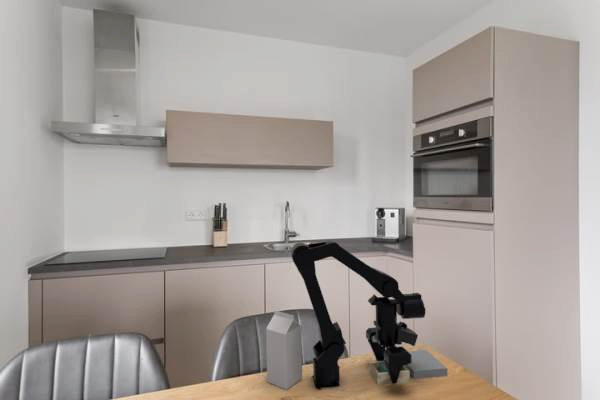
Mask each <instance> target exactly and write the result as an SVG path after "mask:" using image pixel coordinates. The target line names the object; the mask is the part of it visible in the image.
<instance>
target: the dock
mask: <svg viewBox="0 0 600 400" xmlns="http://www.w3.org/2000/svg"><path fill="white" fill-rule="evenodd" d="M407 351H408V352H409V353H410V354H411V355H412V363H411V364H407V365H404V366H405V367H406V368H407V369H408V370H409V371H410V376H411V377H412V378H413V379H414V380H416V379H426V378H436V377H446V376H447V377H448V367H447V366H446V365H444V364H443V363H442V362H441V361H440V360H438V359H437V358H436V357H435V356H434V355H433V354H432V353H431V352H429V351H428V350H427V349H420V350H407Z"/></svg>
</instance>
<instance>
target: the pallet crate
mask: <svg viewBox="0 0 600 400" xmlns="http://www.w3.org/2000/svg"><path fill="white" fill-rule="evenodd" d="M379 362H384V361H377V360H376V361H369V362H368V363H369V365H368V368H369V370H368V371H369V375H370V376H371V377H372V379H373V381H375V383H376V385H377V386H386V385H393V384H392V382H391V379H390V376H389V373H388V372H383V373H379ZM410 376H411V375H410V371H409V370H408V369H407V368H406V367H405V366H403V367H402V368H401V371H400V374H399V377H398V380H397V383H396V384H395V385H398V384H408V383H411V379H410V378H411V377H410Z"/></svg>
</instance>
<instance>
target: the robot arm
mask: <svg viewBox="0 0 600 400" xmlns="http://www.w3.org/2000/svg"><path fill="white" fill-rule="evenodd" d="M290 256H291V260H292V261H293V263H294V265H295V267H296V269H297V271H298V273H299V274H300V276H301V278H302V279H303V283H304V285H305V288H306V292H307V293H308V297H309V300H310V303H311V305H312V306H311V307H312V309H313V312H314V315H315V318H316V322H317V324H318V325H317V326H318V335H319V340H318V341H317V343H315V344H314V345H313V347H312V350H313V353H314V357H312V363H313V364H312V366H313V367H312V370H313V372H312V373H313V375H312V376H311V379H312V381H313V384H314V387H315V389H316V390H321V389H326V388H337V387H340V383H339V382H340V381H341V380H340V377H341V375H340V366H339V363H338V362H339V359H340V358H341V357H342V356H343V354H344V352H345V351H346V350H345V345H346V344H347V342H346V341H345V339H344V336H343V333H342V328H341V326H340V325H339V323H338V321H335V322H332V320H331V317H330V314H329V311H328V307H327V305H326V301H325V299H324V296H323V292H322V289H321V287H320V284H319V280H318V278H317V274H316V273H317V271H316V264H315V262H318V261H321V260H325V259H327V258H331V257H332V258H334V259H335V260H337V261H338V262H339V263H341V264H342V265H344V266H346V267H347V268H348V269H349V270H352V271H353V272H354V273H355V274H357V275H359V276H360V277H362V278H363V279H364V280H365V282H367V283H368V285H370V286H371V287H372V288H373V290H375V291H376V292H377V293H378V294H380V295H381V296H377V295H376V294H373V295H372V296H371V297H369V299H368V300H367V302H368V303H369V304H370V305H371V306H375V320H373V325H374V326H375V327H368V328H367V329H366V330H365V338H366V339H367V341H368V345H369V346H370V348H371V350H372V353H373V355H374V357H375V359H376V361H384V362H385V365H386V368H387V370H388V373H389V376H390V379H391V382H392V384H391V385H397V384H396V383H397V380H398V377H399V374H400V371H401V368H402V367H403V366H404V365H407V364H411V363H412V355H411V354H410V353H409V352H408V351H409V350H407V349H406V348H405V347H403V346H399V345H402V344H403V343H405V344H409V345H411V346H412V347H415V346H416V343H417V340H418V337H419V335H418V334H417V332H415V331H414V330H413V329H410V328H409V327H408V324H407V323H406V322H403V321H399V322H398V319H397V317H398V316H400V318H401V319H402V320H405V319H406V320H407V319H423V318H425V316H426V307H425V304H424V300H423V298H422V294H421V293H419V292H413V293H402V291H401V290H400V289H399V287H400V286H399V281H398V280H397V279H395V278H394V277H392V275H389V274H388V273H385V272H384V271H381V270H379V269H377V268H374V267H371V266H370V265H368V264H366V263H365V262H364V261H362V260H361V259H359V258H358V257H356V255H353V254H352V253H350V252H349V251H347V250H346V249H345V248H343V247H341V246H340V245H339V243H337V241H335V240H330V239H329V240H328V241H323V242H315V243H314V242H313V243H308V244H306V243H305V242H298V243H295V244H294V245H292V247H291V250H290ZM391 298H392V299H391ZM396 345H397V346H396Z"/></svg>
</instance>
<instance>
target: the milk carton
mask: <svg viewBox="0 0 600 400" xmlns="http://www.w3.org/2000/svg"><path fill="white" fill-rule="evenodd" d="M265 329H266V330H265V331H266V335H265V336H266V382H268V383H269V384H272V385H274V386H276V387H279V388H281V389H284V390H289V388H291V387H293V386H294V385H295V384H297V383H298V382H299V381H301V380H302V379H303V341H302V340H303V337H302V335H303V334H302V330H303V329H302V325H301V324H300V323H298V322H297V321H296V319H295V316H294V314H290V313H286V312H282V311H279V310H278V311H276V310H273V315H272V317H271V320H270V321H269V323H268V324H267V327H266V328H265Z"/></svg>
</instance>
